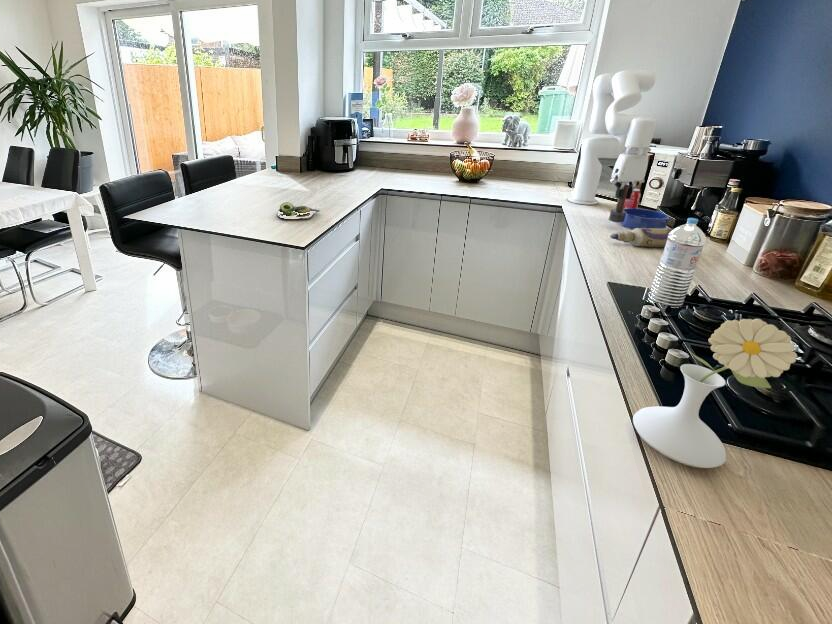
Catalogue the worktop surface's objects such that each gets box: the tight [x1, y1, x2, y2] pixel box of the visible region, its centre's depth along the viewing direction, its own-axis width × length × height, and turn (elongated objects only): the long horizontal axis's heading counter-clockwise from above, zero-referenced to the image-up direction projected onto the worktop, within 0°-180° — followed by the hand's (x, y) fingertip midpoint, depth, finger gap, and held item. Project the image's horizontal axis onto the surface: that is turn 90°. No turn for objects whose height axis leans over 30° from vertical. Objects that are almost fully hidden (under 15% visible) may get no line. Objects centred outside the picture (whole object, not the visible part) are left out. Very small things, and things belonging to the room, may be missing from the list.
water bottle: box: [646, 217, 707, 308], centre depth 98 cm, size 7×7×25 cm
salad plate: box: [276, 201, 321, 220], centre depth 182 cm, size 19×18×5 cm
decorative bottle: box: [609, 227, 674, 248], centre depth 143 cm, size 26×8×7 cm, turn 82°
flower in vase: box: [632, 318, 798, 469], centre depth 59 cm, size 13×11×25 cm
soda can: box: [623, 187, 642, 209], centre depth 176 cm, size 7×7×12 cm
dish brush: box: [608, 183, 630, 224], centre depth 158 cm, size 5×5×15 cm
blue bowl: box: [619, 207, 670, 230], centre depth 164 cm, size 15×15×6 cm
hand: (622, 197), depth 158 cm, fingers closed on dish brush, 2 cm apart
